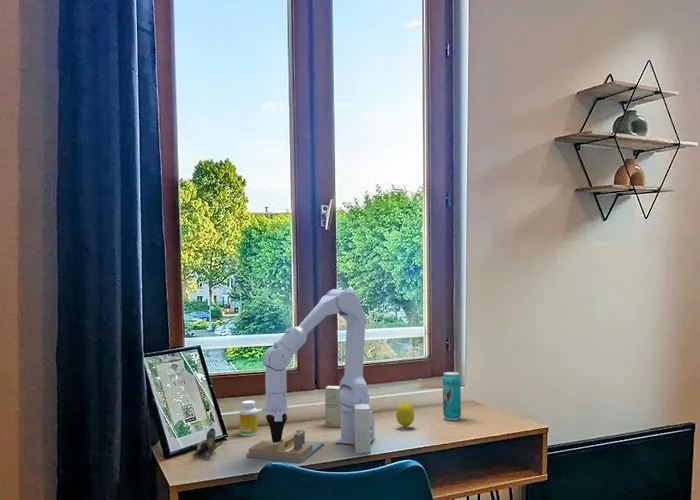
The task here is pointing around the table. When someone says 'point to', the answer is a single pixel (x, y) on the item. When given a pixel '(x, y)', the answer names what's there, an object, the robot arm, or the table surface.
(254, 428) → the supplement bottle
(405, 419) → the lemon
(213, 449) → the eagle figurine
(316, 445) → the latch board
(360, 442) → the skincare box
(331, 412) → the skincare box
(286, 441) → the swing bar
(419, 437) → the table surface
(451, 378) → the beverage can
